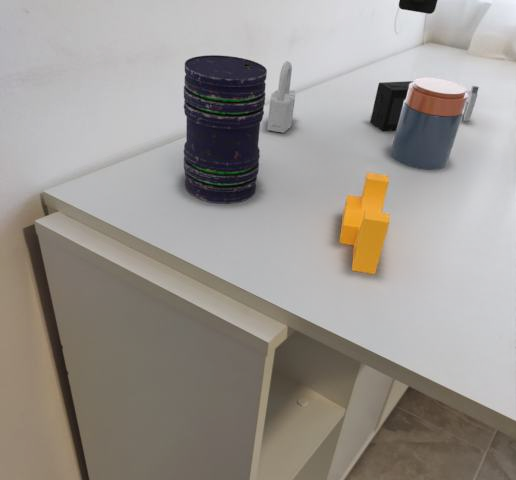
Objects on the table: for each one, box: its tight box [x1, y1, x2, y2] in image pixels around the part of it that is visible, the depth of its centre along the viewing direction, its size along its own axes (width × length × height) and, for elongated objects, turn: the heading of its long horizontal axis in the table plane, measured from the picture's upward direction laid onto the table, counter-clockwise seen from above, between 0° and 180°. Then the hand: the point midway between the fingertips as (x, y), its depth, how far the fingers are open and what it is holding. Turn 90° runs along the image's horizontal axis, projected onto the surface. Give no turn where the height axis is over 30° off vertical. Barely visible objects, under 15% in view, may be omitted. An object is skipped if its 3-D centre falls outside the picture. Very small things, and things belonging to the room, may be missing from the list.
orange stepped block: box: [338, 171, 390, 275], centre depth 62 cm, size 12×4×6 cm, turn 170°
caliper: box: [461, 85, 480, 122], centre depth 108 cm, size 20×1×6 cm, turn 171°
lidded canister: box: [389, 77, 468, 170], centre depth 83 cm, size 9×9×11 cm
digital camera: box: [369, 80, 414, 132], centre depth 95 cm, size 10×5×7 cm, turn 114°
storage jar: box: [183, 54, 268, 204], centre depth 68 cm, size 10×10×15 cm
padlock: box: [266, 61, 296, 134], centre depth 89 cm, size 7×4×10 cm, turn 166°
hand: (418, 2), depth 51 cm, fingers open, 9 cm apart
